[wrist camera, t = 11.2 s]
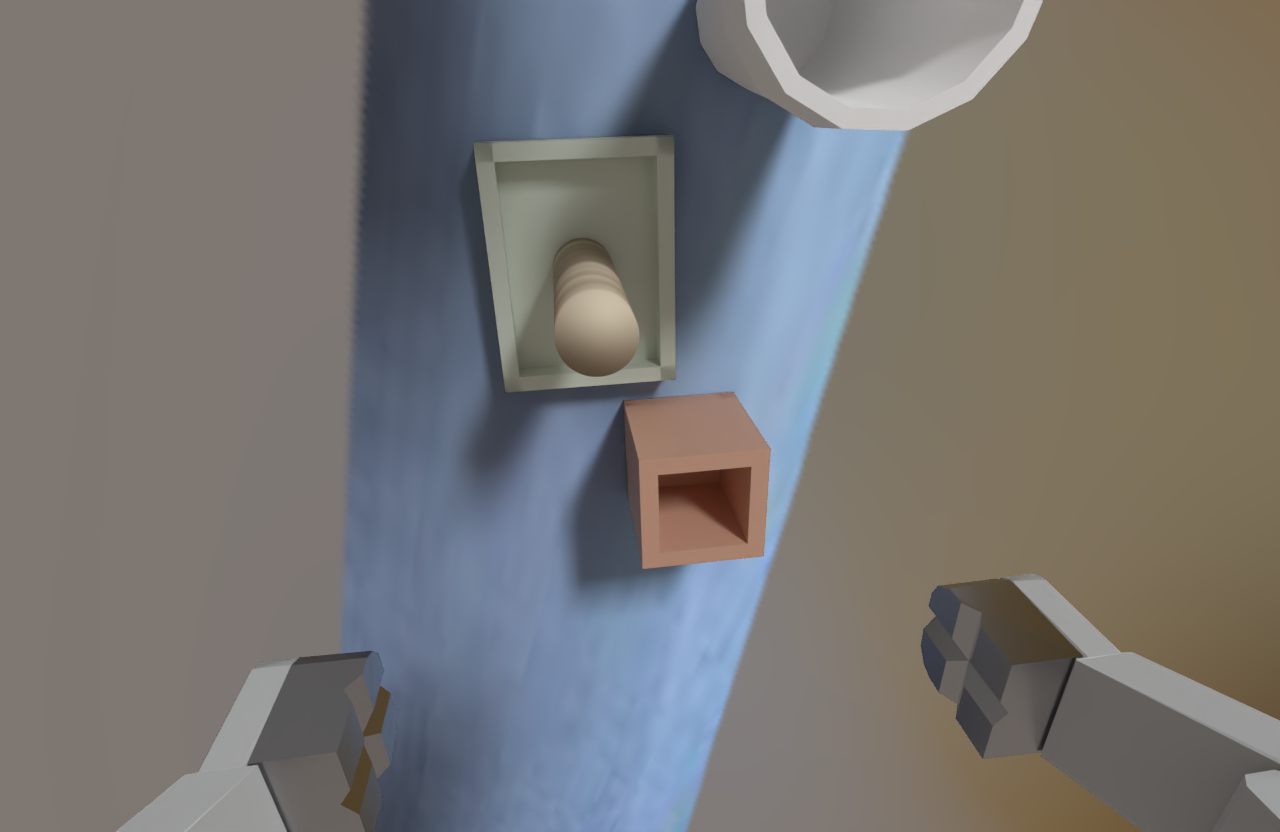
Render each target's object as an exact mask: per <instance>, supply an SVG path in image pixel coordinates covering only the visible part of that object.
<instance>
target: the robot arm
mask: <svg viewBox="0 0 1280 832" xmlns="http://www.w3.org/2000/svg"><path fill="white" fill-rule="evenodd" d="M929 607H930V609H931V610H932V611H933V612H934V614H935V618H933V619H932V620H931V621H930V623H929V624H928V625H927V626H926V627H925V628H924V629H923V635H922V642H921V650H922V656H923V662H924V666H925V668H926V670H927V673H928V675H929V677H930V679H931V681H932V682H933V684H934V686H935V687H936V689H937V690H938V692H939V693H940V694H942V695H944V696H945V697H947V698H948V699H950V700H952V701H954V702H955V703H957V711H956V719H957V721H958V722H959V724H960V725H961V727H962V728H963V730H964V731H965V733H966V734H967V736H968V738H969V739H970V741H971V742H972V744H973V745H974V747H975V748H976V750H977V751H978V752H979V754H980V756H981V757H982V758H983V759H988V758H997V757H1006V756H1015V755H1024V754H1033V753H1041V757H1043V758H1044V759H1045V760H1047V761H1048V762H1049V763H1051V764H1052V765H1053V766H1055V767H1056V768H1058V769H1059V770H1060V771H1061V772H1063V773H1065V774H1066V775H1067V776H1068V777H1070V778H1071V779H1072V780H1074V781H1075V782H1076V783H1078V784H1079V785H1080V786H1082V787H1083V788H1084V789H1086V790H1087V791H1089V792H1090V793H1091V794H1093V795H1094V796H1095V797H1097V798H1098V799H1099V800H1101V801H1102V802H1103V803H1105V804H1106V805H1108V806H1109V807H1110V808H1112V809H1113V810H1114V811H1116V812H1117V813H1118V814H1120V815H1121V816H1122V817H1124V818H1125V819H1126V820H1128V821H1129V822H1130V823H1132V824H1133V825H1135V826H1136V827H1137V828H1139V829H1140V830H1141V831H1143V832H1280V721H1279V720H1277V719H1275V718H1272V717H1271V716H1268V715H1266V714H1264V713H1262V712H1260V711H1258V710H1255V709H1253V708H1251V707H1249V706H1247V705H1245V704H1243V703H1240V702H1238V701H1236V700H1234V699H1232V698H1230V697H1227V696H1225V695H1223V694H1221V693H1219V692H1217V691H1215V690H1212V689H1210V688H1208V687H1206V686H1204V685H1201V684H1199V683H1197V682H1195V681H1193V680H1191V679H1189V678H1186V677H1184V676H1182V675H1180V674H1178V673H1176V672H1174V671H1171V670H1169V669H1167V668H1165V667H1163V666H1161V665H1158V664H1156V663H1154V662H1152V661H1150V660H1147V659H1146V658H1143V657H1141V656H1139V655H1137V654H1135V653H1133V652H1126V653H1121V652H1120V651H1118V650H1117V648H1115V646H1114V645H1112V644H1111V643H1110V642H1109V641H1108V640H1107V639H1106V638H1105V637H1104V636H1103V635H1102V634H1101V633H1100V632H1099V631H1098V630H1097V629H1096V628H1095V627H1094V626H1093V625H1092V624H1091V623H1090V622H1088V620H1086V619H1085V618H1084V617H1083V616H1082V615H1081V614H1080V613H1079V612H1078V611H1077V610H1076V609H1075V608H1074V607H1073V606H1072V605H1071V604H1070V603H1069V602H1068V601H1067V600H1066V599H1065V598H1064V597H1063V596H1062V595H1061V594H1060V593H1058V592H1057V591H1056V590H1055V589H1054V588H1053V587H1052V586H1051V585H1050V584H1049V583H1048V582H1047V581H1046V580H1045V579H1043V578H1042V577H1040V576H1037V575H1035V574H1026V575H1018V576H1011V577H1003V578H1000V579H989V580H980V581H972V582H964V583H956V584H949V585H940V586H937V588H936V589H935V590H934V591H933V592H932V594H931V598H930V602H929ZM383 674H384V667H383V664H382V661H381V658H380V655H379V653H378V652H375V651H366V652H354V653H343V654H333V655H322V656H310V657H300V658H298V659H286V660H275V661H263V662H260V663H259V664H258V665H257V666H255V667H254V668H253V669H252V670H251V671H250V673H249V675H248V677H247V679H246V681H245V682H244V685H243V687H242V688H241V690H240V692H239V694H238V696H237V698H236V700H235V702H234V703H233V705H232V707H231V709H230V711H229V713H228V715H227V717H226V719H225V721H224V723H223V725H222V726H221V728H220V730H219V732H218V734H217V736H216V738H215V740H214V742H213V744H212V746H211V747H210V749H209V751H208V753H207V755H206V757H205V759H204V761H203V763H202V765H201V767H200V768H199V770H198V772H197V773H190V774H185V775H183V776H182V777H181V778H180V779H179V780H177V781H176V782H175V783H174V784H173V785H171V786H170V787H169V788H168V789H166V790H165V791H164V792H163V793H162V794H160V795H159V796H158V797H157V798H156V799H155V800H153V801H152V802H151V803H150V804H148V805H147V806H146V807H145V808H144V809H142V810H141V811H140V812H139V813H138V814H136V815H135V816H134V817H133V818H132V819H130V820H129V821H128V822H127V823H126V824H125V825H123V826H122V827H121V828H120V829H118V830H117V831H116V832H374V830H375V826H376V822H377V818H378V814H379V810H380V806H381V801H382V797H383V796H382V793H381V789H380V786H379V783H378V780H377V779H378V778H379V777H380V775H381V774H382V773H383V772H384V771H385V770H386V769H387V768H388V767H389V766H390V763H391V759H392V754H393V750H394V745H395V730H396V717H395V708H394V703H393V699H392V695H391V693H390V692H389V691H387V690H386V689H384V688H383V687H381V686H380V684H381V681H382V677H383Z"/></svg>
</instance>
